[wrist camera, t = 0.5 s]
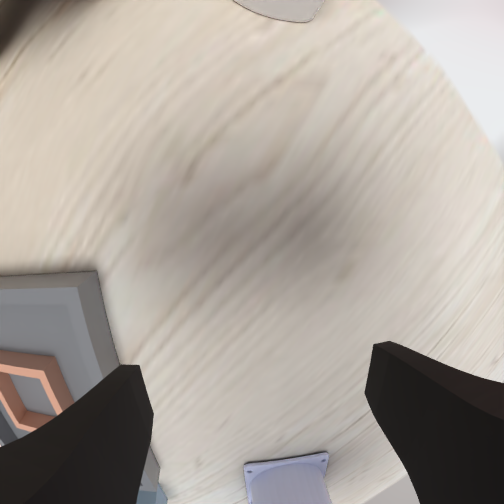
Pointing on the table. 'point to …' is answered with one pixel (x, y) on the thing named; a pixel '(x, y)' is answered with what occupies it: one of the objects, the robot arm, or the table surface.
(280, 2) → the eye dropper bottle
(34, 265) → the table surface
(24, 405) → the gray tray
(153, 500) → the block
